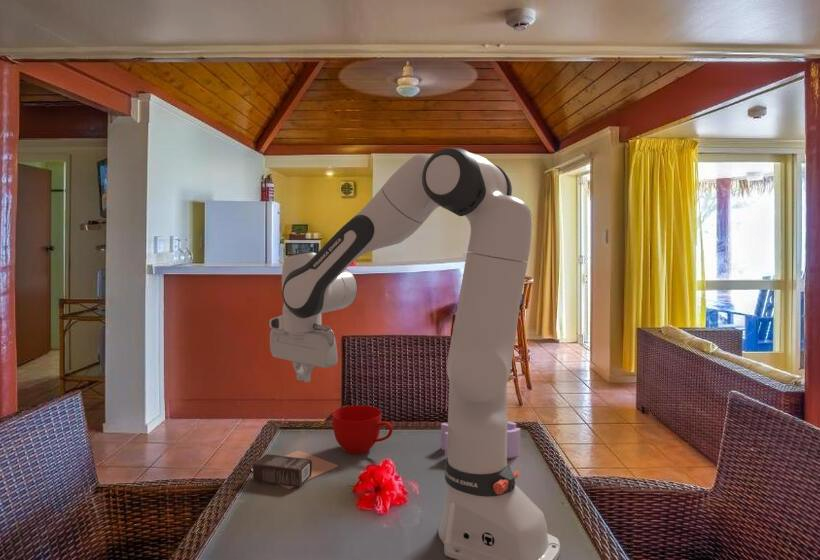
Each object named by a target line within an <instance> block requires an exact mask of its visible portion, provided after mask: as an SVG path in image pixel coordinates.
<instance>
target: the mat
mask: <svg viewBox="0 0 820 560" xmlns="http://www.w3.org/2000/svg"><path fill="white" fill-rule="evenodd" d="M284 456H287V457H295V458H303V459H311V462H312V471H311V477H309V478H308V479H307V480H306V481H305V482H304V483H306V482H308V481H311V480H313V479H315V478H317V477H319V476H321V475H323V474H324V475H325V474H326V473H328V472H331V471H332V470H335V469H337V468H339V465H337V464H335V463H333V462H330V461H327V460H325V459H323V458H319V457H317V456H315V455H311V454H310V453H307V452H304V451H301V450H296V451H293V452H291V453H288V454H286V455H284ZM250 469H251V471H252V472H251V471H250V472H251V473H253V467H252V468H250ZM278 485H279V486H281V487H283V488H285V489H288V490H291V489H292V488H295V487H296V486H289V485H282V484H278Z"/></svg>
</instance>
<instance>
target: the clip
mask: <svg viewBox="0 0 820 560" xmlns="http://www.w3.org/2000/svg"><path fill="white" fill-rule="evenodd" d="M521 429H522V428H521V427H517V423H516V422H513V421H508V420H507V459H513V458H517V457H519V456H520V455H521V432H522V431H521ZM440 431H441V432H440V450H443V451H444V460H446V458H447V457H448V422H443V423H440Z"/></svg>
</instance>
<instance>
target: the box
mask: <svg viewBox="0 0 820 560" xmlns="http://www.w3.org/2000/svg"><path fill="white" fill-rule="evenodd" d="M252 468H253V472H252V476H253V477H252V479H253V482H261V483H268V484H276V485H279V484H282V485H289V486H295V487H298V488H300V487H301V486H302V485H304V484H305V483H306V482H307V481H306V480H307V479H308V478H309V477H311V471H312V462H311V459H303V458H295V457H287V456H285V455H278V454H277V455H276V454H269V453H265V454H264V455H263V456H261V457H260V458H258V459H257V461H255V462H254V463H253V464H252ZM305 481H306V482H305Z"/></svg>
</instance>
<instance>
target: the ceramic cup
mask: <svg viewBox="0 0 820 560" xmlns="http://www.w3.org/2000/svg"><path fill="white" fill-rule="evenodd" d="M331 414H332V415H331V419H332V422H331V423H332V427H333V430H332V431H333V434H334V438H335V440H336V442H337V443H338V445H339V446H340V447H341V449H343V450H344V452H345V453H347V454H349V455H363V454H366V453H368V452H370V450H371V449H372V448H373V446H374V445H375V444H376V443H378V442H383V441H385V440H387V439H389V438H390V437H391V436H392V434H393V432H394V431H393V429H394V428H393V426H392V424H391V423H390V422H389V421H385V420H384V421H382V411H381V410H380V409H379V408H378V407H375V406H371V405H361V404H360V405H359V404H358V405H347V406H343V407H339V408H337V409H335V410H334V411H333V412H332V413H331ZM383 425H384V426H387V427H388V430H389V431H388V433H387V435H385V436H383V437H379V435H380V433H381V427H382V426H383Z"/></svg>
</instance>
